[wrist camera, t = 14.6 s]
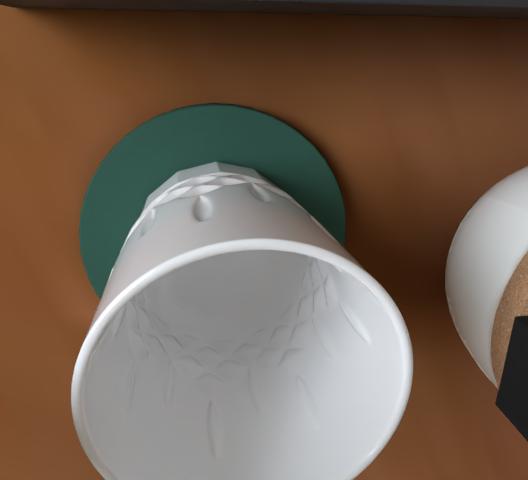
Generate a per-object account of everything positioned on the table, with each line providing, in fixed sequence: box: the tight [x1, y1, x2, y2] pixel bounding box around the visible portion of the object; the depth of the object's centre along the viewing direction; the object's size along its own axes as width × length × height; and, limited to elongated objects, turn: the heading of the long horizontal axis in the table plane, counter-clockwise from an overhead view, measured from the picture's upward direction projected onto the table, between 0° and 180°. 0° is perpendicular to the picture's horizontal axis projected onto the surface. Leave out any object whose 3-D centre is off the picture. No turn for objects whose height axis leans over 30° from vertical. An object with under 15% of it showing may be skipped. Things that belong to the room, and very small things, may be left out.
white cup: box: [71, 162, 413, 480], centre depth 16 cm, size 8×8×10 cm
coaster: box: [79, 103, 346, 299], centre depth 21 cm, size 11×11×1 cm
